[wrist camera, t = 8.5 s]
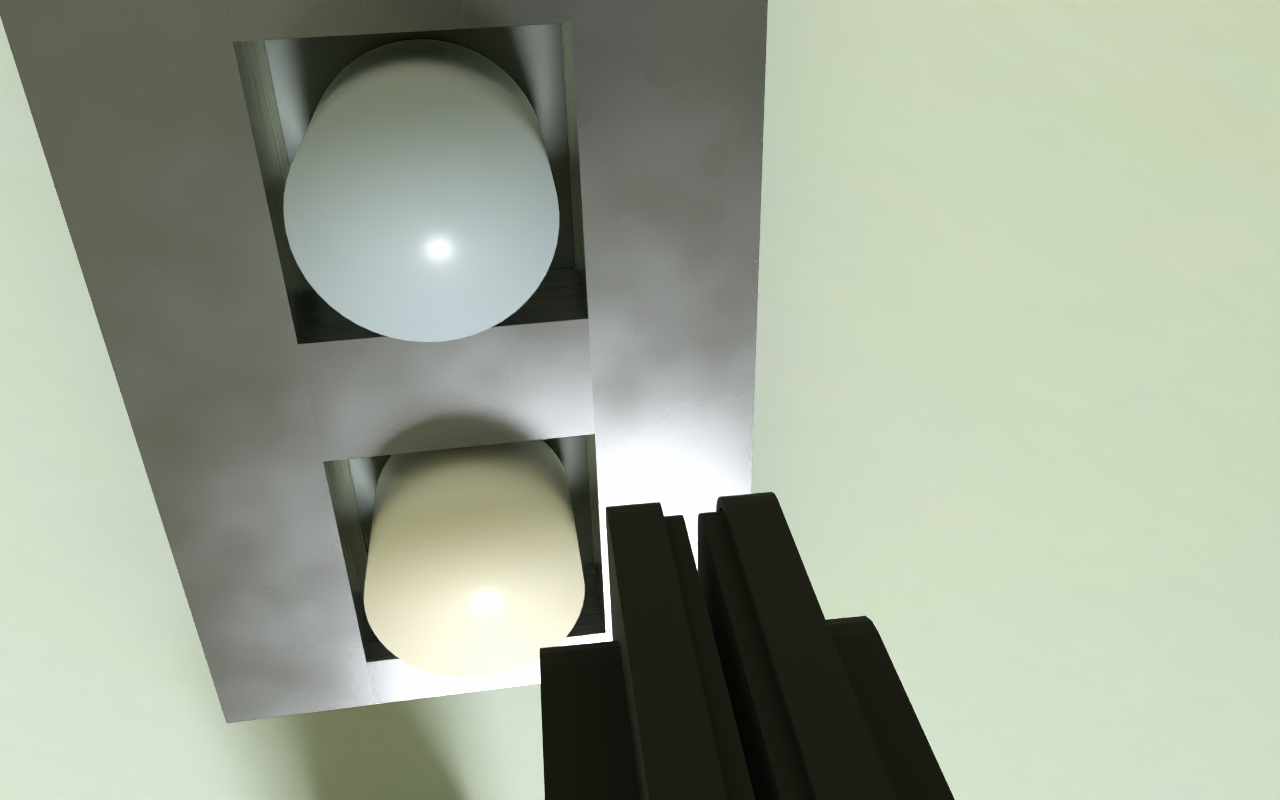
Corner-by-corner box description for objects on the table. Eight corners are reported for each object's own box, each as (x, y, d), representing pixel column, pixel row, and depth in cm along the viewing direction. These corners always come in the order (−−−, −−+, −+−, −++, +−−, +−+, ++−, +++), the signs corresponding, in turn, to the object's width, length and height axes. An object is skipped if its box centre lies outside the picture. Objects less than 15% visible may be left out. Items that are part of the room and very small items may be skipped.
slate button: (535, 32, 19) (549, 75, 16) (552, 256, 21) (567, 330, 18) (288, 46, 19) (257, 93, 16) (332, 274, 21) (311, 353, 18)
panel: (746, -700, 15) (794, -782, 13) (722, 588, 27) (745, 656, 25) (-152, -722, 14) (-268, -818, 11) (246, 645, 26) (226, 723, 24)
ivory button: (563, 408, 23) (578, 497, 20) (575, 564, 25) (590, 664, 22) (360, 428, 23) (346, 521, 20) (390, 585, 25) (381, 690, 22)
